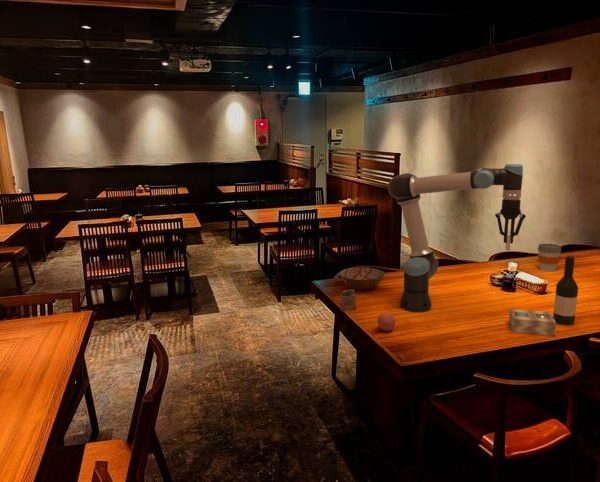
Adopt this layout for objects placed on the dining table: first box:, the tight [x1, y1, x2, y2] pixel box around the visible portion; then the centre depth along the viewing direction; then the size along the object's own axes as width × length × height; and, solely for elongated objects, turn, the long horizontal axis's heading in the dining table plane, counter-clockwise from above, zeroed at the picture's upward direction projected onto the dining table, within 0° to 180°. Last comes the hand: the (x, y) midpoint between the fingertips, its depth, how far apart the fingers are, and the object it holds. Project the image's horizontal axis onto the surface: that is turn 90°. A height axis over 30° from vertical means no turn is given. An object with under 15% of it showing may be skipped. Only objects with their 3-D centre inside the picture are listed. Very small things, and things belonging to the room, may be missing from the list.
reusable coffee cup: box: [537, 243, 562, 273], centre depth 283 cm, size 12×12×15 cm
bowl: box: [338, 266, 386, 291], centre depth 259 cm, size 25×25×8 cm
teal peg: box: [516, 312, 527, 317], centre depth 199 cm, size 4×4×6 cm
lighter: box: [339, 288, 357, 312], centre depth 224 cm, size 8×3×10 cm, turn 105°
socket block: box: [508, 308, 557, 337], centre depth 198 cm, size 16×12×6 cm
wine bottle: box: [552, 254, 579, 326], centre depth 202 cm, size 8×8×30 cm
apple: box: [377, 312, 396, 332], centre depth 199 cm, size 7×7×8 cm
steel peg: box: [537, 314, 548, 319], centre depth 196 cm, size 4×4×6 cm
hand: (507, 249), depth 213 cm, fingers closed
